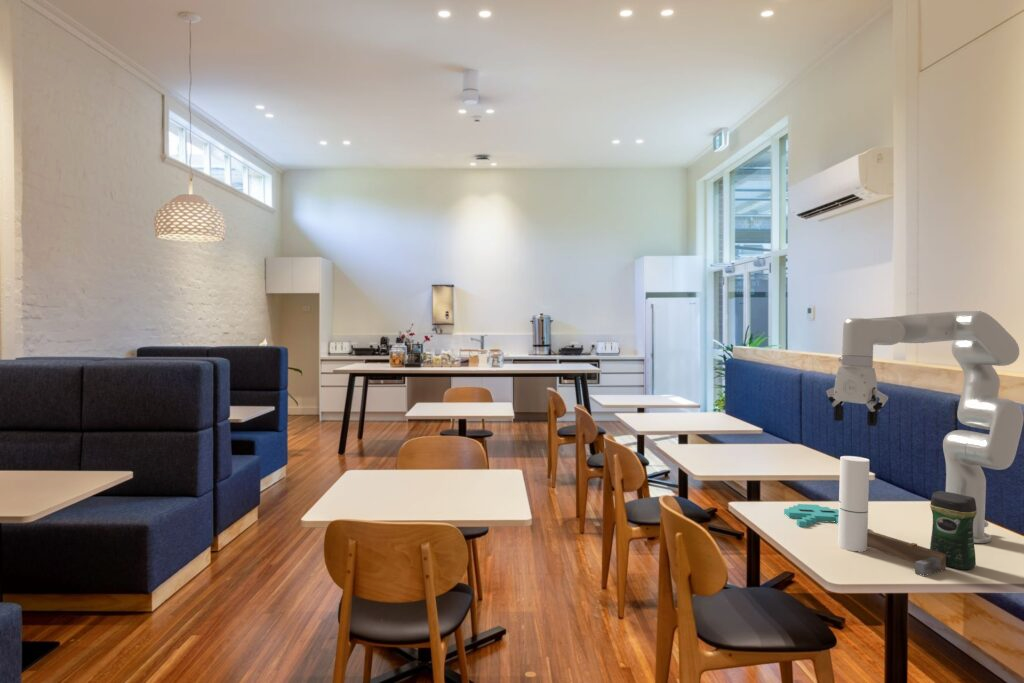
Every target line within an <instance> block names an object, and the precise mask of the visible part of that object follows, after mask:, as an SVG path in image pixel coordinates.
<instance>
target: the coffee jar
mask: <svg viewBox="0 0 1024 683" xmlns="http://www.w3.org/2000/svg"><path fill="white" fill-rule="evenodd" d="M929 506H930V510H931V513H932V528H931V537H930V543H929V549H931V550H934V551H938V552H941V553H944V554H946V567H949V568H953V567H954V568H953V569H960V570H971V569H974V568H975V567H976V565H977V564H976V562H977V561H976V549H975V543H974V538H973V520H974V517H975V516H976V514H977V509H976V502H975V499H974V498H973V497H970V496H965V495H960V494H956V493H950V492H946V491H943V490H938V491H935V492H933V493H932V495H931V498H930V504H929Z"/></svg>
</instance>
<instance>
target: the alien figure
mask: <svg viewBox="0 0 1024 683" xmlns="http://www.w3.org/2000/svg"><path fill="white" fill-rule="evenodd" d="M783 511H784V512H783V514H784V515H785V514H786V515H787V516H788V517H790V518H789V519H796V526H797V527H799V528H808V526H813V525H812V524H815V523H816V524H817V521H835V522H836V523H835V522H834V523H835V524H837V523H838V519H839V508H830V507H828V506H820V505H819V504H811V503H810V504H807V503H797V505H793V506H792V507H791V506H789V507H788V508H784V510H783ZM786 515H785V516H786ZM787 516H786V517H787ZM788 517H787V518H788ZM797 518H802V519H797Z"/></svg>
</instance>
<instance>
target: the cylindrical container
mask: <svg viewBox="0 0 1024 683" xmlns="http://www.w3.org/2000/svg"><path fill="white" fill-rule="evenodd" d="M839 458H840V461H839V482H838V483H839V486H838V488H839V490H838V491H839V494H838V510H839V519H838V524H837V526H838V529H837V546H838V547H839V546H840V547H841V548H840V547H839V548H840V549H842V548H844V549H843V550H845V549H846V550H845V551H849V550H850V552H854V551H858V552H857V553H864V552H863V551H865V552H866V550H868V547H867V530H868V529H869V527H868V526H869V525H868V524H869V522H868V521H869V494H870V492H869V490H870V488H869V487H870V459H869V458H865V457H862V456H854V455H842V456H840V457H839Z"/></svg>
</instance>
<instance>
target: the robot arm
mask: <svg viewBox="0 0 1024 683" xmlns="http://www.w3.org/2000/svg"><path fill="white" fill-rule="evenodd" d="M842 328H843V329H842V331H843V332H842V350H841V351H842V354H841V357H838V362H839V363H841V366H840V365H839V366H838V367H837V371H836V375H835V381H834V386H833V387H832V388H829V389H827V390H825V392H826V395H827V397H828V401H829V402H830V403H831V405H832V407H833V420H834V421H835V422H840V421H844V406H843V404H844V403H852V404H858V405H859V404H860V405H861V404H862V405H863V404H865V405H866V407H867V408H868V411H867V416H866V417H867V418H866V419H867V420H866V422H867V423H866V425H867V426H868V427H875V426H877V424H878V418H879V417H878V415H879V413H878V412H880V411H881V409H883V408H884V407H885V405H886V403H887V401H888V400H889V396H888V395H887V394H885V393H883V392H881V391H879V390H878V381H877V373H876V370H875V367H873V365H874V364H873V363H874V362H873V361H874V346H893V345H896V344H899V343H901V344H903V343H904V344H925V343H938V342H940V343H941V342H950V341H953V342H952V344H951V353H952V356H953V357H954V358H955V361H956V362H957V363H958V365H959V366H960V368H961V370H962V372H963V375H964V380H963V386H962V391H961V394H960V397H959V398H960V399H959V402H958V407H957V411H956V414H957V415H956V417H957V420H958V421H959V422H960V424H962V425H965V426H968V427H971V428H976V429H983V430H988V431H989V434H988V433H983V432H976V431H971V430H967V429H966V430H965V429H957V430H952V431H950V432H948V433H947V434H946V435H944V438H943V441H942V449H943V450H942V451H943V455H944V460H945V473H946V475H945V492H950V493H956V494H960V495H965V496H970V497H973V498H974V499H975V502H976V509H977V514H976V516H975V517H974V520H973V538H974V544H986V543H990V542H991V540H992V536H991V535H989V534H988V533H986V532H985V528H988V527H989V522H988V521H986V519H985V518H986V516H985V515H986V497H987V496H986V494H987V492H986V490H987V478H986V476H985V473H984V471H983V469H982V467H983V468H986V469H991V470H998V471H999V470H1000V471H1001V470H1006V469H1008V468H1009V467H1010V466H1012V464H1013V463H1014V460H1015V457H1016V455H1017V450H1018V447H1019V443H1020V442H1019V441H1020V438H1021V434H1022V429H1023V426H1024V413H1023V410H1022V407H1021V406H1020V404H1018V403H1017V402H1015V401H1014V400H1011V399H1008V398H1002V397H1001V398H999V394H1000V393H999V392H1000V388H1001V380H1000V377H999V374H998V372H997V371H996V369H995V368H994V367H993V366H996V367H997V366H999V367H1001V366H1002V367H1005V366H1010V365H1011V364H1014V363H1015V362H1016V361H1017V360H1018V358H1019V356H1020V346H1019V345H1018V342H1017V340H1016V339H1015V338H1014V337H1013V336H1012V334H1010V333H1009V331H1007V330H1006V329H1005V327H1003V326H1002V324H1000V323H999V321H997V320H996V319H995V318H994V317H993V316H991V315H990V314H988V313H987V312H984V311H980V310H979V311H978V310H968V311H966V310H965V311H964V310H962V311H944V312H943V311H942V312H929V313H915V314H905V315H898V316H888V317H887V316H886V317H872V318H863V317H862V318H860V317H859V318H856V317H855V318H846V319H844V322H843V327H842ZM878 398H879V400H878V402H877V399H878Z"/></svg>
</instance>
